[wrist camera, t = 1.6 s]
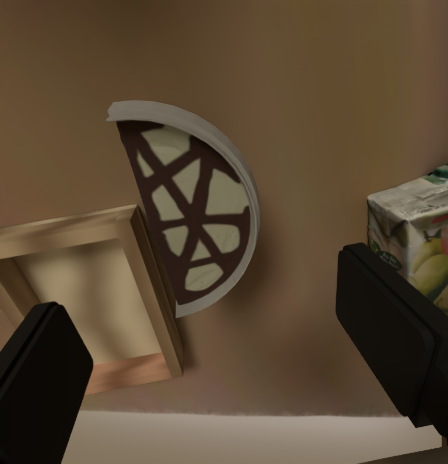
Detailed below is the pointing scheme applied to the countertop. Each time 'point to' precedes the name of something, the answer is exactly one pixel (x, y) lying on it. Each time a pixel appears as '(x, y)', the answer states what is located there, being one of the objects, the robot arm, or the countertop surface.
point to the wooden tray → (96, 291)
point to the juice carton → (414, 232)
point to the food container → (191, 198)
